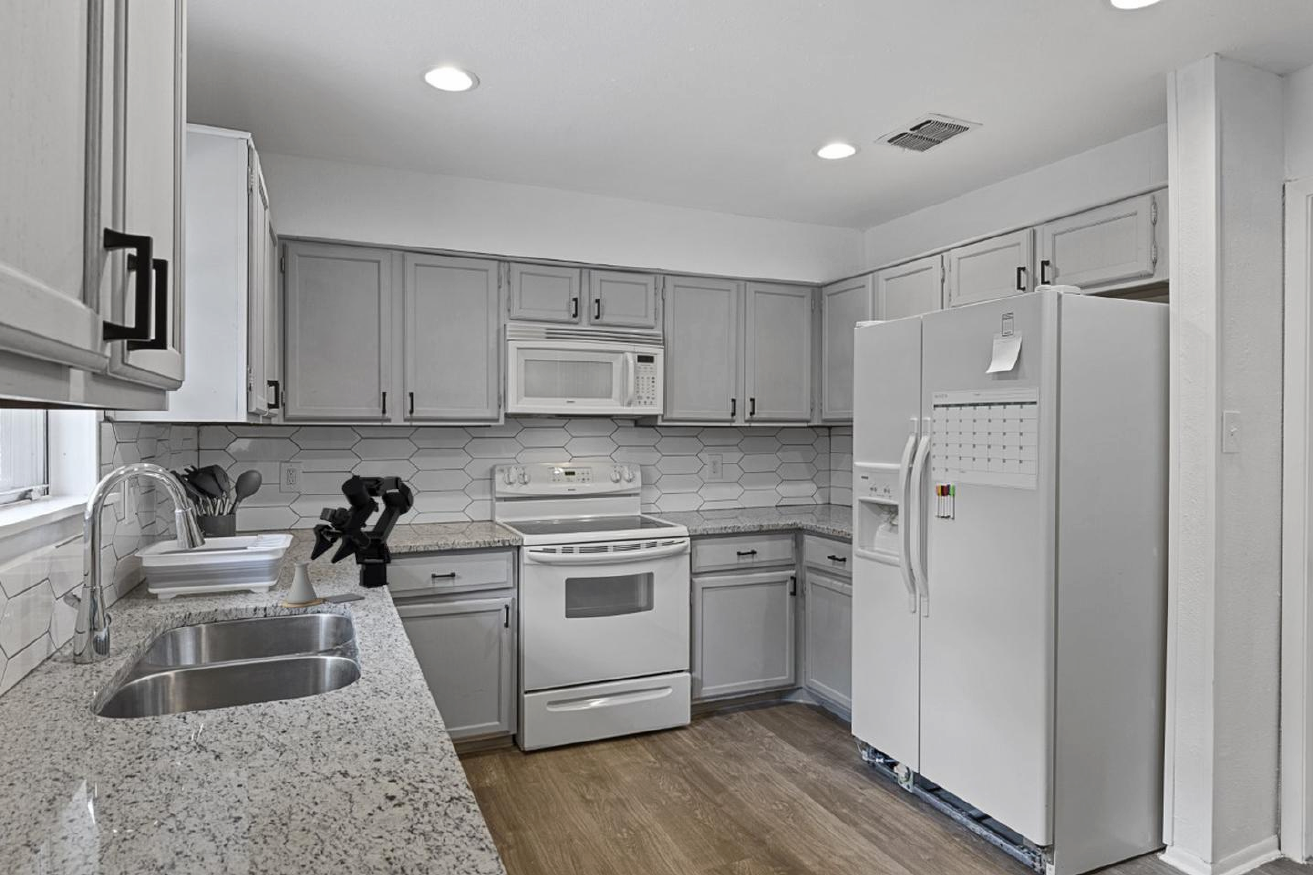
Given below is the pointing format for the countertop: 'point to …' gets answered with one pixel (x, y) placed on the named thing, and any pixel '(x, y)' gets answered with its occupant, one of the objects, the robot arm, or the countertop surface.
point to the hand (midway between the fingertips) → (321, 561)
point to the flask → (301, 586)
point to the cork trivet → (303, 603)
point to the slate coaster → (343, 598)
